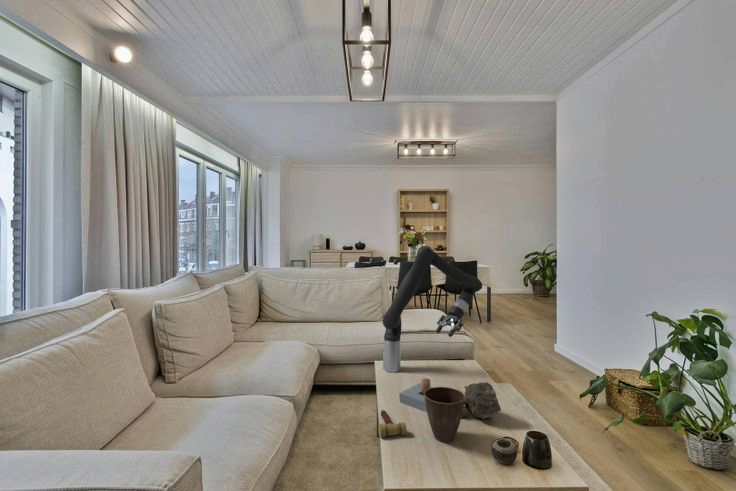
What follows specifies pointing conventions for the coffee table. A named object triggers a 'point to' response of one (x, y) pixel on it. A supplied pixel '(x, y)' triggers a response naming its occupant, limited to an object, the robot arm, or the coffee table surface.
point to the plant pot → (444, 411)
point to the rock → (480, 401)
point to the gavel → (390, 427)
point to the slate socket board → (414, 397)
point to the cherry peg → (425, 385)
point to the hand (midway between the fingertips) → (443, 334)
